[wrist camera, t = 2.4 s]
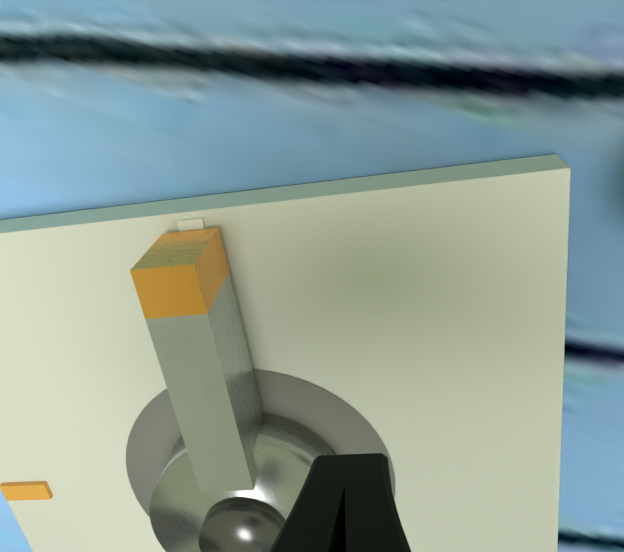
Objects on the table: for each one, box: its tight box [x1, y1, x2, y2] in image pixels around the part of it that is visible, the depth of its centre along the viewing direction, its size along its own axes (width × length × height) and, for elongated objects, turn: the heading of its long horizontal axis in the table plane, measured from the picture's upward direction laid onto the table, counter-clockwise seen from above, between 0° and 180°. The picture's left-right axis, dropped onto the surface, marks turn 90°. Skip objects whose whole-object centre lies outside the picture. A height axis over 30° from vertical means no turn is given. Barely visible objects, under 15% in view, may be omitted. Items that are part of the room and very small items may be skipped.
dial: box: [130, 228, 337, 552], centre depth 20 cm, size 14×7×3 cm, turn 9°
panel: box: [0, 154, 571, 552], centre depth 23 cm, size 22×22×2 cm
